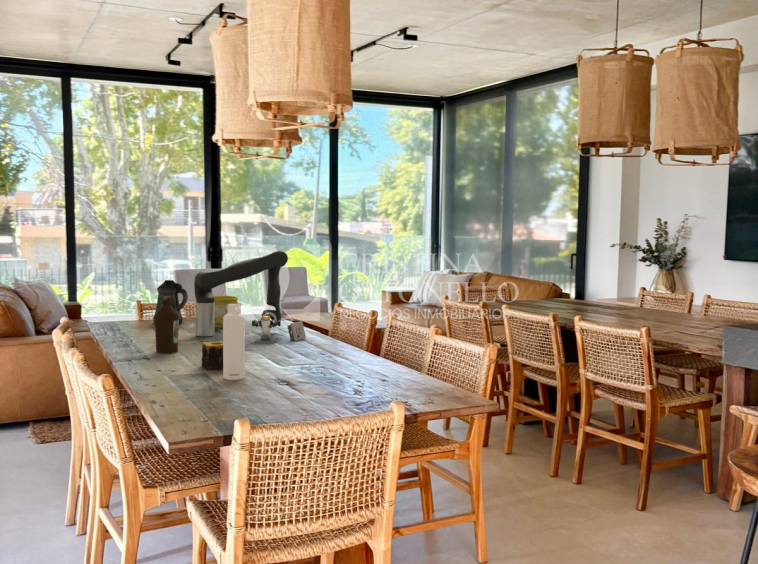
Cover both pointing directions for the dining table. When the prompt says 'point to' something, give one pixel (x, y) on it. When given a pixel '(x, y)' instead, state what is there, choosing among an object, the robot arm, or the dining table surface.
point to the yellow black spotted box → (212, 355)
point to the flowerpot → (222, 308)
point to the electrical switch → (296, 331)
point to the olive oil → (166, 328)
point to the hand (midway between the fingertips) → (265, 325)
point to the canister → (265, 328)
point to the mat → (265, 341)
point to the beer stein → (171, 296)
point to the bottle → (233, 343)
